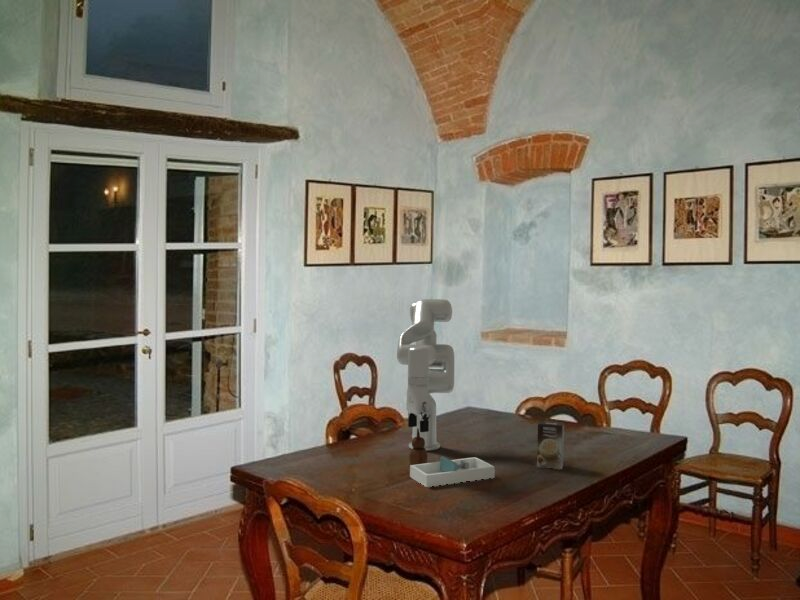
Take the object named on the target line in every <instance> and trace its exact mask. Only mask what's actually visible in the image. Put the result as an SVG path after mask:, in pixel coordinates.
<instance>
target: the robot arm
mask: <svg viewBox="0 0 800 600" xmlns="http://www.w3.org/2000/svg"><path fill="white" fill-rule="evenodd" d="M409 314H410V320H411V325H410V326H409V327H408V328H406V329H405V330H404V331H403V332H402V333H401V335H400V336H399V339H398V341H397V351H396V359H397V362H398V363H399V364H400V365H403V366H407V390H406V391H407V392H406V405H405V406H406V407H405V408H406V411H407V416H408V418H407V420H408V421H407V423H408V424H407V425H408V428H412V434H411V437H412V439H413V438H415V437H417V428H418V429H419V433H420V437H422V438H424V440H425V446H424V448H425V449H426V451H427V452H428V451H429V452H430V451H436V450H438V449H440V447H441V444H440V443H439V442H437V403H436V400H435V399H434V397H433V396H432V395H431V394H449V393H452V392H453V391H454V387H455V352H454V348H453V346H451V345H449V344H441V343H440V344H439V343H437V337H438V335H437V333H436V331H435V323H437V322H438V323H448V322H450V321H451V319H452V316H453V307H452V304H451V302H450V301H449V300H448V299H441V298H440V299H439V298H438V299H437V298H434V299H433V298H431V299H430V298H429V299H428V298H425V299H420V300H418V301H416V302H413V303H411V305H410V307H409ZM414 343H415V344H414ZM408 448H409V449H411V450H412V449H413V446H412V441H411V442H409V443H408Z"/></svg>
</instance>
